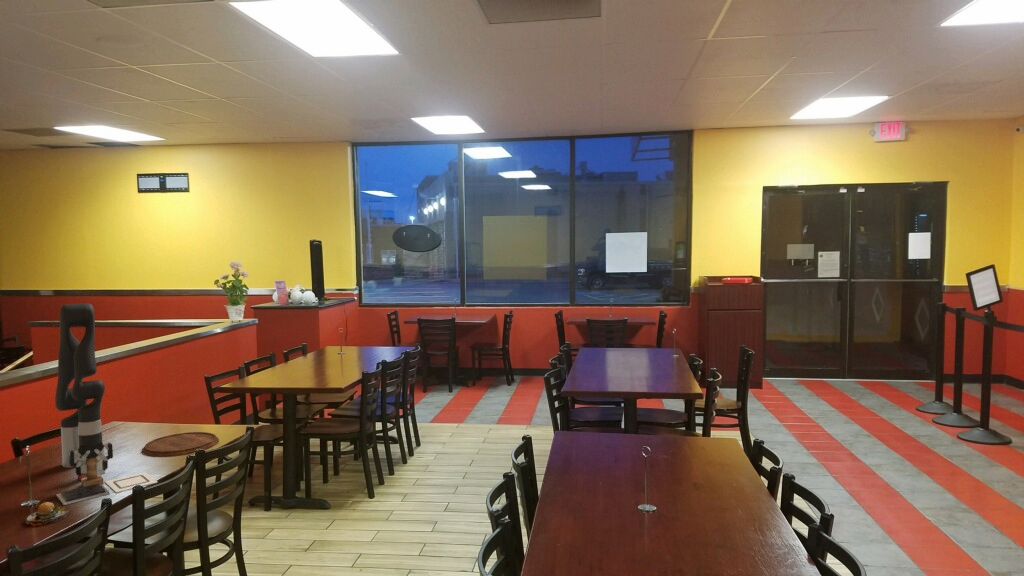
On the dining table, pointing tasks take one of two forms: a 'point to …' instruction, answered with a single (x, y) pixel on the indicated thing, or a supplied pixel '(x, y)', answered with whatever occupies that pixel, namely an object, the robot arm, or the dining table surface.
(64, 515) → the burger
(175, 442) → the cutting board
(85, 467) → the ink box
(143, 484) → the paper sheet
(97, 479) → the stamp
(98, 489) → the ink pad
